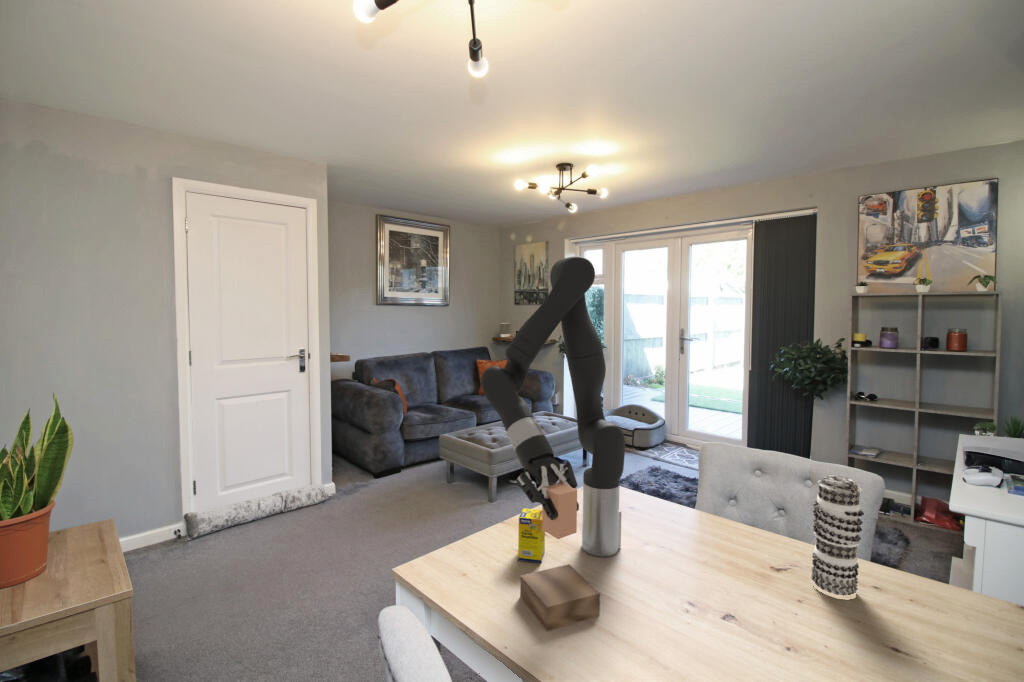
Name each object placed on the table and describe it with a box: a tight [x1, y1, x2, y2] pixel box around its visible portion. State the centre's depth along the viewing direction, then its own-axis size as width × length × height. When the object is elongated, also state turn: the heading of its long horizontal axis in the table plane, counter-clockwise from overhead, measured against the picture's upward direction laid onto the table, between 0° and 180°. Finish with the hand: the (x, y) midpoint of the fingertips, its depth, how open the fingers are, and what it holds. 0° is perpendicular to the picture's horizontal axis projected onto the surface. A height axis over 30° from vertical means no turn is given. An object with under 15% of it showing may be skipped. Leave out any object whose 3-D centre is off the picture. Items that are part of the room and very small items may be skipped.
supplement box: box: [517, 508, 546, 564], centre depth 119 cm, size 6×6×11 cm
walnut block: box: [519, 564, 601, 632], centre depth 99 cm, size 12×12×5 cm
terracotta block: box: [541, 482, 578, 540], centre depth 98 cm, size 5×5×9 cm
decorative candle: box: [810, 475, 865, 596], centre depth 106 cm, size 9×9×25 cm
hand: (565, 514), depth 97 cm, fingers closed on terracotta block, 5 cm apart
